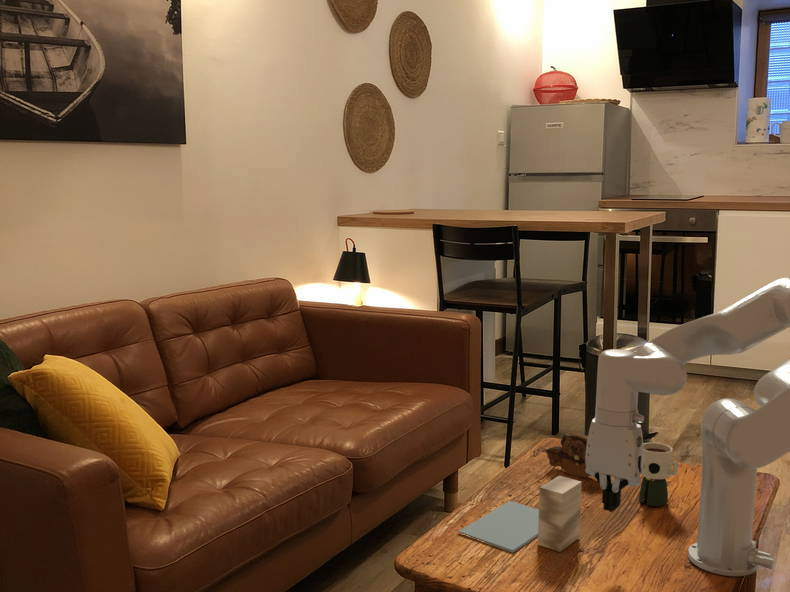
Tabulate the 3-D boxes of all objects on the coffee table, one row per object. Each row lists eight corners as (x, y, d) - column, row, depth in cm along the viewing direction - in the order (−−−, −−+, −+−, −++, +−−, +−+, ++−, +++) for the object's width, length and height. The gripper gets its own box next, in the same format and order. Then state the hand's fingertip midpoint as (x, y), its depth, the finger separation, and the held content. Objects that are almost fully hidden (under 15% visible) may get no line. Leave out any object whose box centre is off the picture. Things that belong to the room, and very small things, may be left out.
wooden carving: (541, 470, 203) (542, 431, 201) (549, 465, 206) (551, 427, 205) (604, 486, 193) (606, 445, 191) (612, 480, 197) (614, 440, 195)
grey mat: (562, 519, 175) (562, 516, 175) (513, 553, 159) (513, 550, 159) (509, 503, 183) (509, 500, 183) (458, 533, 168) (458, 531, 167)
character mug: (623, 499, 186) (626, 444, 183) (641, 491, 190) (644, 437, 188) (665, 515, 177) (668, 457, 175) (683, 506, 182) (687, 450, 179)
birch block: (579, 538, 166) (581, 481, 164) (560, 553, 160) (562, 493, 158) (557, 531, 169) (559, 475, 167) (537, 545, 163) (539, 487, 161)
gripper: (662, 419, 151) (656, 513, 154) (588, 404, 160) (583, 492, 163) (646, 429, 145) (640, 526, 148) (570, 412, 155) (566, 504, 158)
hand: (610, 508), depth 156 cm, fingers closed
